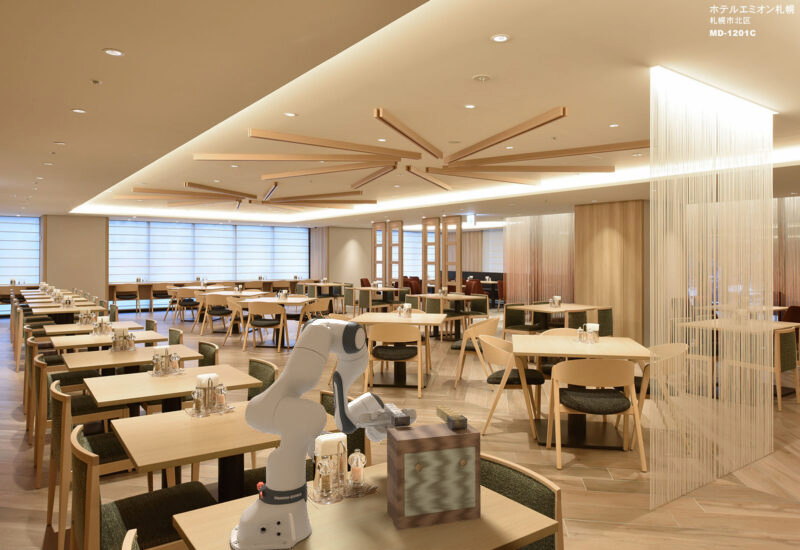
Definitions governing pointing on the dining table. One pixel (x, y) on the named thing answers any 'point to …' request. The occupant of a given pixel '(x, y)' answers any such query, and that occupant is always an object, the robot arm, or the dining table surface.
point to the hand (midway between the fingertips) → (391, 411)
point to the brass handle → (451, 418)
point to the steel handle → (396, 415)
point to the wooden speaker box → (433, 475)
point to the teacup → (312, 446)
